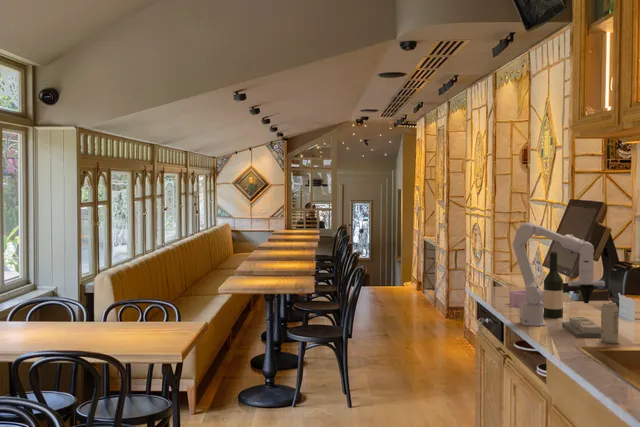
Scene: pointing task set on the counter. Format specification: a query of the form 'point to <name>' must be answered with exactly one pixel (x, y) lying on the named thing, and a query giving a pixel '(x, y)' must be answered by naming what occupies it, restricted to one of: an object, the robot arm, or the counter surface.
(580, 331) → the mount board
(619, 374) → the counter surface
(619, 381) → the counter surface
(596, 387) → the counter surface
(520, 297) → the pink rectangular box
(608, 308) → the energy drink can
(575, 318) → the knob
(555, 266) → the wine bottle
